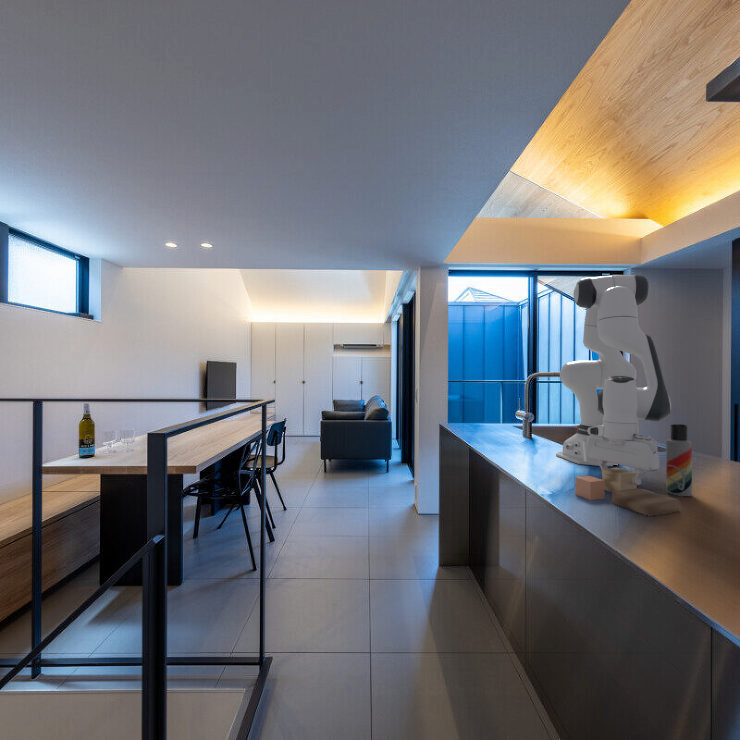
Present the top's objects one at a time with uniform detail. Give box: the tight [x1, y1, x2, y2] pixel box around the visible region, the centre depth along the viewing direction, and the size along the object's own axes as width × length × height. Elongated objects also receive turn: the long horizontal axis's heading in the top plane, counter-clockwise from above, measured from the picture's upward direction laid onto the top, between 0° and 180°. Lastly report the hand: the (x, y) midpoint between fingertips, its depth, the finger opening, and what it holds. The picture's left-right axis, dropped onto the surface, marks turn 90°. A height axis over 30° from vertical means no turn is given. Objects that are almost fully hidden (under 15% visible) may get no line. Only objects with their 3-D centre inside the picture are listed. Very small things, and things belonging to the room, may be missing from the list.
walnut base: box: [611, 487, 680, 517], centre depth 98 cm, size 10×10×3 cm
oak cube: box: [601, 467, 638, 493], centre depth 112 cm, size 6×6×6 cm
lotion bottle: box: [665, 423, 693, 497], centre depth 109 cm, size 6×6×20 cm
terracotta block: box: [574, 475, 606, 501], centre depth 107 cm, size 5×5×5 cm
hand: (620, 479), depth 111 cm, fingers open, 8 cm apart
